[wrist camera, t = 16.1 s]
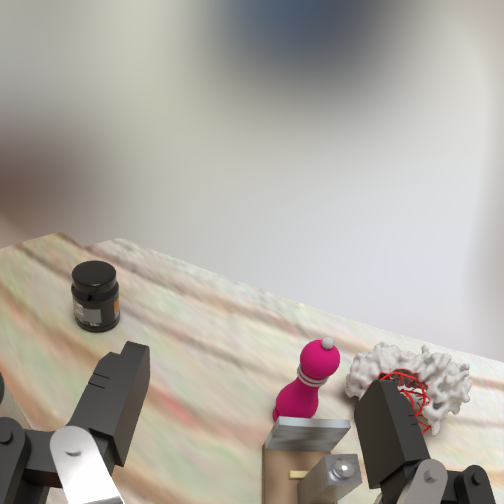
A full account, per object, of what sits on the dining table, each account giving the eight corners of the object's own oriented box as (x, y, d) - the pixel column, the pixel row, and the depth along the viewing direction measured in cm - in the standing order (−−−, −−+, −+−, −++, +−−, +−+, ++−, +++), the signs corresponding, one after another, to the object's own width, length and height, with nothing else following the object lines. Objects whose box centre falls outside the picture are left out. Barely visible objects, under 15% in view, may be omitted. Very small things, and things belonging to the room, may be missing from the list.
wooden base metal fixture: (261, 566, 23) (283, 561, 19) (262, 446, 43) (278, 416, 39) (337, 561, 24) (372, 550, 20) (324, 449, 44) (349, 419, 40)
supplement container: (122, 305, 67) (122, 261, 62) (117, 336, 58) (114, 289, 53) (81, 301, 64) (76, 256, 59) (70, 330, 55) (63, 283, 50)
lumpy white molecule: (360, 468, 47) (475, 428, 41) (346, 433, 40) (492, 379, 34) (350, 396, 65) (448, 362, 58) (334, 346, 57) (450, 306, 51)
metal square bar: (298, 509, 32) (332, 482, 26) (296, 484, 36) (327, 451, 30) (327, 508, 32) (366, 479, 27) (324, 483, 36) (360, 450, 31)
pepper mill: (304, 437, 46) (352, 362, 37) (265, 425, 47) (301, 346, 39) (311, 408, 52) (354, 331, 44) (275, 396, 54) (309, 316, 45)
